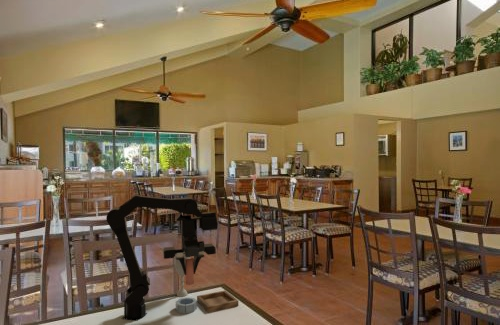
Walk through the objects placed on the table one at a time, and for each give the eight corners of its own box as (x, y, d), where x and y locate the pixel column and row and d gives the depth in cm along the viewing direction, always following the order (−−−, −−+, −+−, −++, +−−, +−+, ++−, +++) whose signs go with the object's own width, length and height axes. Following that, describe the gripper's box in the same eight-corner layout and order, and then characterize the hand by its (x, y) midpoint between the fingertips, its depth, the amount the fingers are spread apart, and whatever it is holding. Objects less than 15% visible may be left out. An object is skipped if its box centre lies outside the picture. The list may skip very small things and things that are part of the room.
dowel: (184, 284, 124) (183, 259, 124) (187, 281, 127) (187, 257, 127) (191, 285, 123) (191, 260, 123) (195, 282, 126) (194, 258, 126)
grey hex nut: (172, 313, 122) (172, 304, 122) (182, 305, 129) (182, 296, 129) (190, 316, 120) (190, 306, 120) (199, 307, 127) (199, 298, 127)
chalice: (193, 293, 141) (193, 250, 141) (188, 299, 134) (188, 254, 134) (176, 292, 142) (176, 249, 142) (170, 299, 135) (170, 254, 135)
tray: (208, 314, 121) (208, 307, 121) (197, 302, 132) (197, 295, 132) (238, 307, 127) (238, 300, 127) (225, 296, 138) (225, 290, 138)
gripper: (164, 238, 114) (165, 284, 114) (218, 234, 120) (219, 278, 120) (162, 232, 125) (163, 274, 125) (212, 228, 131) (212, 269, 131)
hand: (189, 274), depth 125 cm, fingers closed on dowel, 3 cm apart
